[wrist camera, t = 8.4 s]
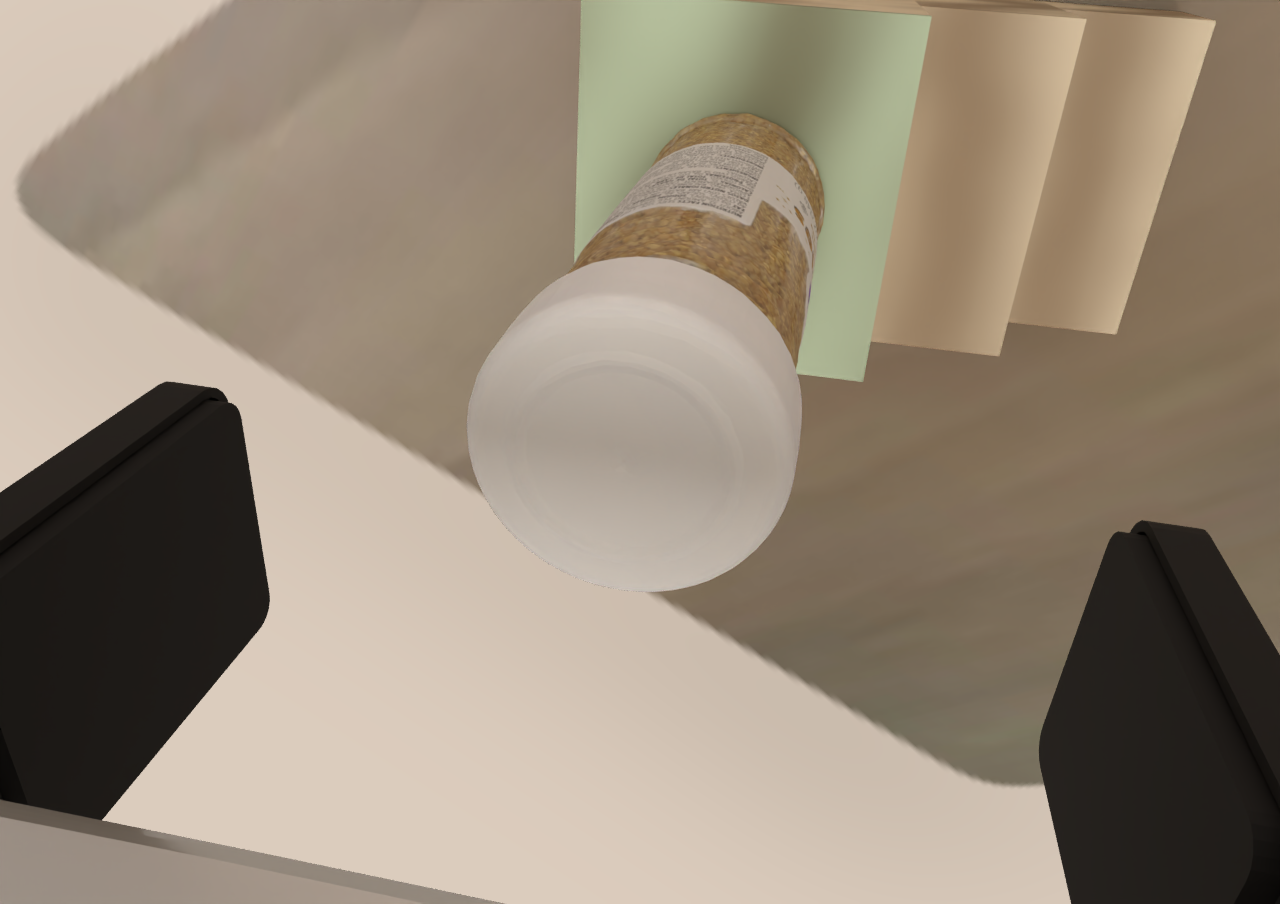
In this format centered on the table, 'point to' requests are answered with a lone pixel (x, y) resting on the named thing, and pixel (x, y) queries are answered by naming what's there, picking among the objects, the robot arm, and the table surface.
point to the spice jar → (661, 370)
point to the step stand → (916, 148)
